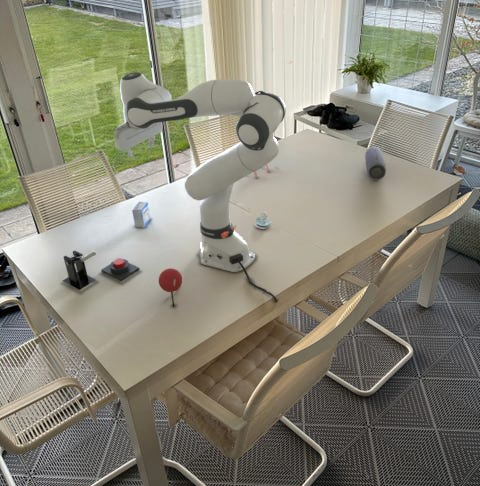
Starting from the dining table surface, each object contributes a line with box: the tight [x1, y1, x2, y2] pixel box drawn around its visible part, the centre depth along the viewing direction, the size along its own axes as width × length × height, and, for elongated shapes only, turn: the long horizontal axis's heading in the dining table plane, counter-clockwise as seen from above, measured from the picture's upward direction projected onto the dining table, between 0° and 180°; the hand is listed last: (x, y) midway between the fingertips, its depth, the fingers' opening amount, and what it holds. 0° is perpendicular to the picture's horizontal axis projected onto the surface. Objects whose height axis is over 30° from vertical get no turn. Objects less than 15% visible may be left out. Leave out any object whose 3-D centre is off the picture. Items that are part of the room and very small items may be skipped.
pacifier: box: [254, 211, 272, 230], centre depth 219 cm, size 7×6×6 cm
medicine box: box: [131, 201, 151, 229], centre depth 224 cm, size 8×4×9 cm, turn 168°
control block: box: [100, 258, 140, 282], centre depth 194 cm, size 11×9×4 cm
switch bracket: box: [62, 250, 96, 291], centre depth 188 cm, size 10×8×12 cm
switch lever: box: [69, 250, 97, 265], centre depth 182 cm, size 13×6×2 cm, turn 54°
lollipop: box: [158, 267, 183, 308], centre depth 174 cm, size 8×8×15 cm
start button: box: [112, 257, 125, 268], centre depth 193 cm, size 4×4×2 cm
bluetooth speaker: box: [364, 145, 387, 181], centre depth 260 cm, size 23×9×10 cm, turn 172°
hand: (141, 151), depth 194 cm, fingers open, 8 cm apart
